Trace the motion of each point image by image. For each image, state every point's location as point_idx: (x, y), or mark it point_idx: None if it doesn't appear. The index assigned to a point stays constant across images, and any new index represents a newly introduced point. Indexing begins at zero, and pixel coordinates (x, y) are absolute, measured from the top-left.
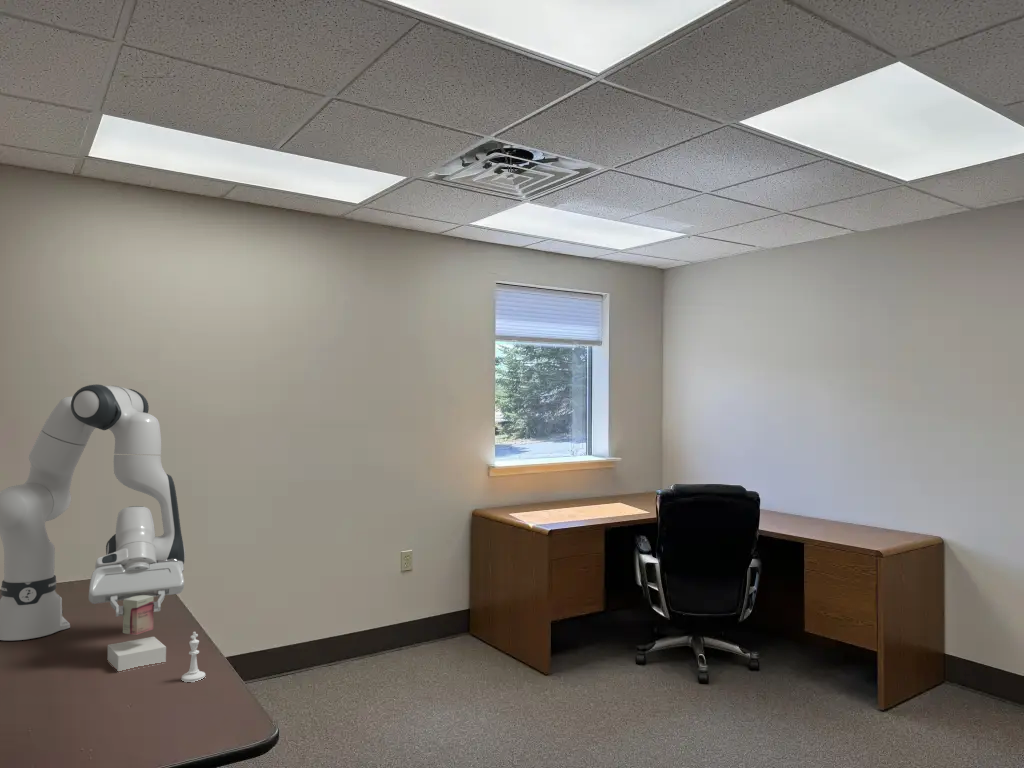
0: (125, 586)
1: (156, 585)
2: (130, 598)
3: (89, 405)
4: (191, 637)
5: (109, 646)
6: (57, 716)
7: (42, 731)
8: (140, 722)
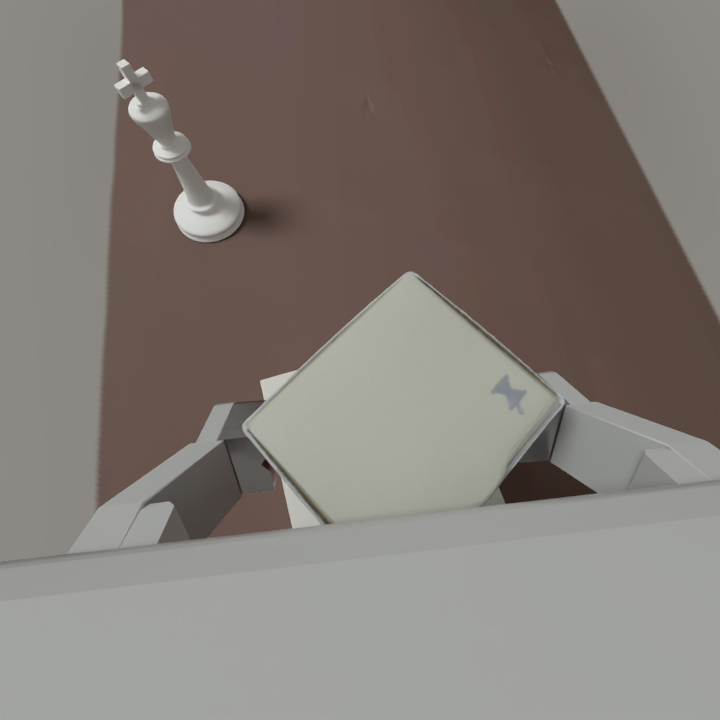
0: (713, 590)
1: (124, 593)
2: (492, 395)
3: None
4: (148, 74)
5: (498, 488)
6: (515, 103)
7: (523, 49)
8: (342, 26)
